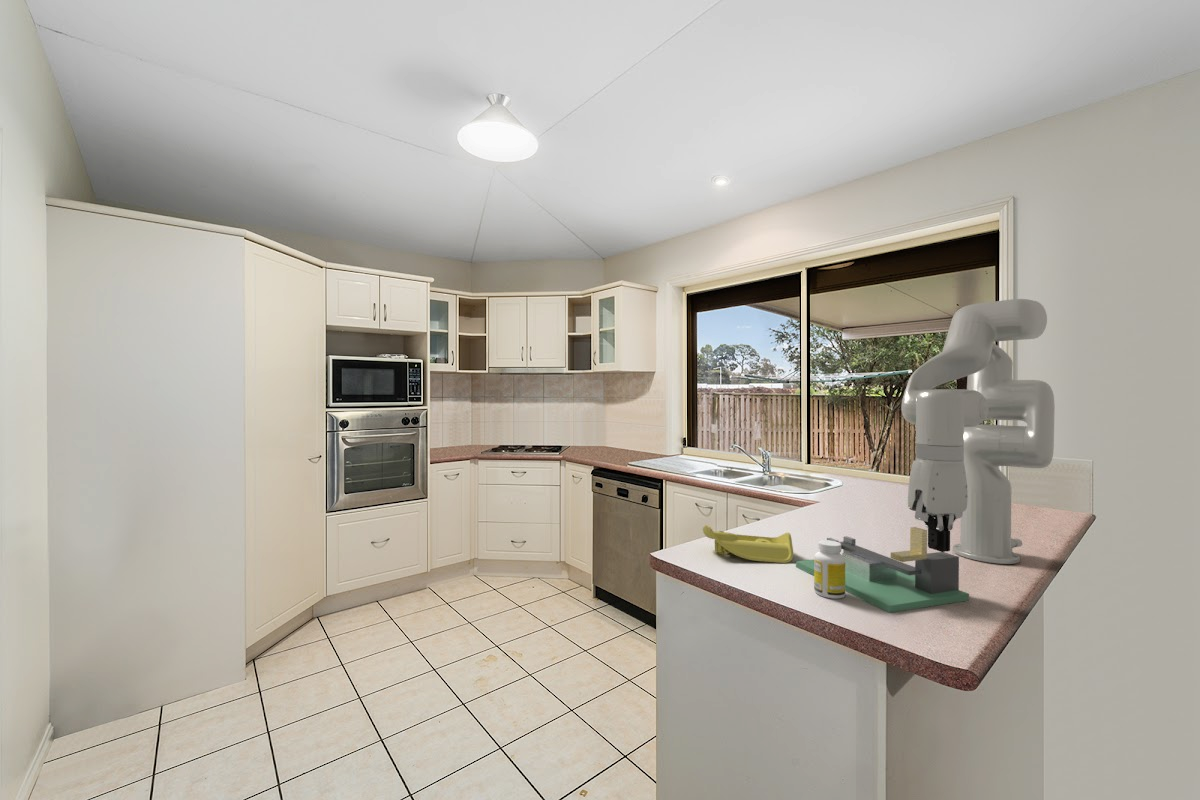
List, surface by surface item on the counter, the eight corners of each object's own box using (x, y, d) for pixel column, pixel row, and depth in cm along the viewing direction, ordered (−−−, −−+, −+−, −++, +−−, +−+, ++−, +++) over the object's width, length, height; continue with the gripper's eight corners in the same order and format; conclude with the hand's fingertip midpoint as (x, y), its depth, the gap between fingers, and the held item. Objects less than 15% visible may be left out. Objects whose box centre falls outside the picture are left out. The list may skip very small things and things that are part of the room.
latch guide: (942, 583, 94) (942, 551, 94) (958, 589, 91) (958, 556, 91) (915, 587, 92) (915, 554, 92) (930, 593, 89) (931, 560, 89)
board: (863, 559, 112) (864, 532, 113) (968, 600, 90) (969, 565, 90) (796, 566, 107) (796, 538, 107) (889, 612, 84) (889, 575, 84)
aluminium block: (868, 566, 104) (868, 550, 104) (896, 577, 97) (896, 560, 97) (842, 569, 102) (842, 553, 102) (869, 581, 95) (869, 563, 95)
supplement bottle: (849, 594, 92) (849, 543, 92) (839, 602, 88) (839, 548, 88) (820, 586, 96) (820, 537, 96) (809, 593, 92) (809, 542, 92)
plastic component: (777, 538, 121) (792, 531, 112) (779, 569, 118) (795, 563, 109) (699, 531, 122) (707, 523, 113) (699, 561, 119) (707, 555, 110)
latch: (915, 555, 92) (915, 527, 92) (926, 559, 90) (927, 530, 90) (890, 557, 90) (890, 529, 90) (901, 562, 88) (902, 532, 88)
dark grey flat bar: (844, 545, 108) (844, 540, 108) (921, 574, 90) (921, 569, 90) (833, 546, 107) (833, 541, 107) (909, 576, 89) (909, 570, 89)
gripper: (949, 451, 98) (948, 540, 98) (891, 453, 94) (891, 547, 94) (988, 455, 91) (987, 552, 91) (927, 457, 86) (927, 559, 86)
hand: (938, 549), depth 92 cm, fingers closed
